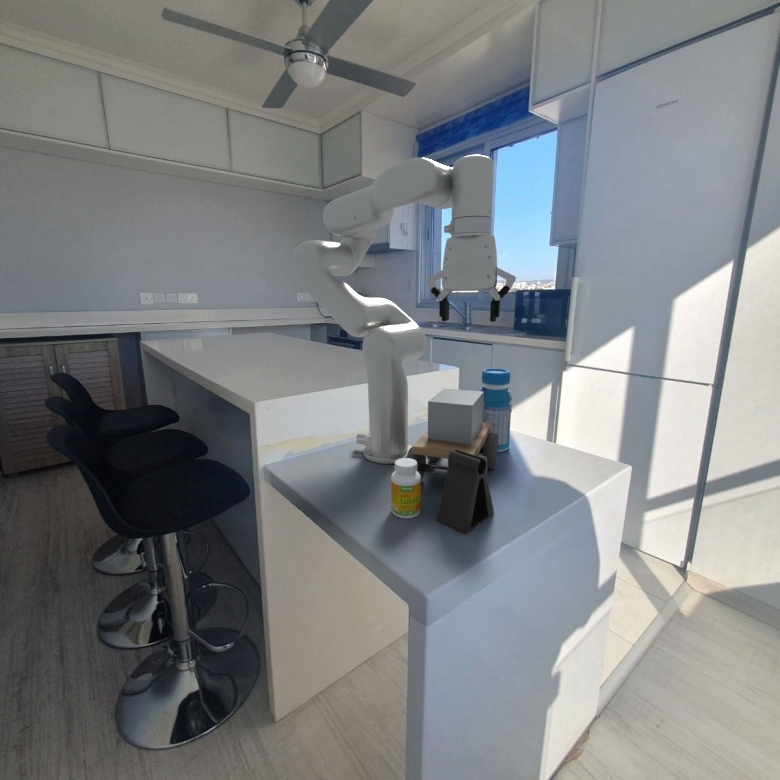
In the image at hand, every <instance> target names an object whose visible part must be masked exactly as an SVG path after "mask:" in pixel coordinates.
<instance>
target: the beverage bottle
mask: <svg viewBox="0 0 780 780" xmlns="http://www.w3.org/2000/svg"><path fill="white" fill-rule="evenodd" d="M510 382H511V371H510V370H508V369H504V368H485V369H483V370H482V372H481V383H482V385H483V386H482V387H481V389H480V391H483V392H484V404H483V422H486V423H492V428H491V431H490V433H495V434H497V435H498V452H497V453H501V452H506V451H507V450H509V448H510V433H511V432H510V431H511V420H512V419H511V415H512V412H513V411H512V410H513V406H512V404H511V402H512V401H513V396H512V392H511V390H510V389H509V387H508V386H509V385H510ZM483 446H484V444H483Z"/></svg>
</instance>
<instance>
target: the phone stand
mask: <svg viewBox="0 0 780 780" xmlns="http://www.w3.org/2000/svg"><path fill="white" fill-rule="evenodd" d="M455 451H456V452H454V451H451V452H450V454H449V456H448V459H447V467H448V471H447V475H445V481H444V484H443V489H442V491H441V492H442V493H441V496H440V497H441V498H440V501H439V506H438V511H437V513H436V518H435V519H436V521H437V522H440V523H442V524H443V525H446V526H447V527H450V528H451V529H454V530H456V531H458V532H461V533H462V534H464V535H466V534H467V533H469V532H470V531H472V530H473V529H475V528H476V527H478V526H479V525H480V524H482V523H483V522H486V520H487V519H490V518H491V517H492V516H493V515H494V514H495V511H494V505H493V501H492V496H491V495H492V494H491V491H490V490H491V489H490V486H489V480H488V476H487V475H488V474H487V475H486V467H487V461H486V459H484V458H481V457H478V456H475V455H472V454H468V453H465V452H462V451H459V450H456V449H455Z"/></svg>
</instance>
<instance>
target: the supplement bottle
mask: <svg viewBox="0 0 780 780" xmlns="http://www.w3.org/2000/svg"><path fill="white" fill-rule="evenodd" d="M390 482H391V483H390V491H391V492H390V494H391V496H390V497H391V498H390V499H391V502H390V503H391V512H392V514H393V515H394V516H395V517H397V518H401V519H413V518H415V517H418V516H419V515H420V513H421V511H422V502H421V501H422V482H421V475H420V474H419V472H417V461H416V460H414V459H411V458H401V459H398V460H396V461H395V463H394V471H393V472H392V474H391V476H390Z"/></svg>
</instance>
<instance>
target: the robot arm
mask: <svg viewBox="0 0 780 780" xmlns="http://www.w3.org/2000/svg"><path fill="white" fill-rule="evenodd" d="M494 173H495V166H494V162H493V160H492V158H491V157H489V156H487V155H482V154H470V155H465V156H462V157H460V158H458V159H457V160H456V161H455V162H454V163H453V166H452V167H450V166H447V165H444V164H441V163H439V162H437V161H434V160H432V159H429V158H426V157H414V158H411V159H408V160H405V161H401V162H399V163H397V164H394V165H392V166H389V167H388V168H385V169H384V170H383V171H381V172H380V173H379V175H378V176H377V177H376V178H375V179H374V180H373V183H372V185H369V186H367V187H363V188H361V189H358V190H356V191H353V192H350V193H347V194H345V195H341V196H340V197H336V198H334V199H332V200H330V201H329V203H327V204H326V206H325V207H324V209H323V212H322V222H323V224H324V226H325V228H326V229H327V230H328V231H329V232H330V233H331V234H332V235H335V236H337V237H341V240H340V241H339V242H338V241H330V240H321V239H311V240H306V241H304V242H302V243H300V244H298V246H297V247H296V248H295V249H294V252H293V256H292V264H293V266H292V267H293V271H294V275H295V279H297V282H298V284H299V285H300V287H301V288H302V289H303V291H304V292H305V294H307V295H308V296H309V297H310V298H311V299H312V300H314V301H315V302H316V303H317V304H318V305H319V306H320V307H321V308H323V309H324V311H325V312H326V313H327V314H328V315H329V316H330V317H331V318H332V319H333V320H334V321H335V322H336V323H337V324H338V325H339V326H340V327H341V328H342V329H343V330H344V331H345V332H346V333H348V334H349V336H351V337H354V338H364V339H363V342H362V356H363V359H364V363H365V368H366V376H367V394H368V395H367V396H368V397H367V401H368V426H369V427H368V429H369V430H368V432H369V434H365V433H357V434H356V437H355V438H356V444H357V445H364V446H365V447H364V449H363V456H364V458H365V459H366V460H368V461H370V462H373V463H377V464H382V465H383V464H386V465H387V464H391V465H392V464H395V461H396V460H398V459H401V458H406V456H407V453H408V451H409V449H410V448H411V447H412V446H413V445H411V444H409V386H408V385H409V383H408V379H407V374H406V372H405V369H404V365H403V364H406V363H410V362H414V361H417V360H418V359H420V358H421V357H422V356H423V355H424V354H425V352H426V349H427V345H428V339H427V337H426V334H425V332H424V330H423V329H422V327H421V326H420V325H418V323H416V321H414V320H413V319H412V317H410V316H408V314H406V313H405V312H404V311H403V310H402V309H401V308H400V307H399V306H398V305H397V304H395V303H394V302H393V301H391V300H389V299H386V298H383V297H378V296H377V297H374V296H373V297H366V296H363V295H361V294H359V293H357V292H356V291H355V290H354V289H353V288H352V287H351V286H350V285H349V284H348V283H346V282H345V281H344V280H342V279H340V278H339V277H347V276H350V275H352V274H353V273H354V272H355V271H356V270H357V269H358V267H359V266H360V264H361V262H362V261H363V259H364V257H365V255H366V253H367V252H368V250H369V248H370V247H371V245H372V243H373V242H374V239H375V237H376V236H377V233H378V230H379V228H382V227H384V226H385V227H386V226H387V225H389V224H390V223H391V221H392V219H393V217H394V212H395V211H394V209H397V208H399V207H402V206H406V205H409V204H415V203H417V204H420V205H421V204H422V205H424V206H429V207H431V208H435V209H439V210H448V209H451V220H450V223H449V224H447V225H444V227H443V232H444V234H449V235H450V236H451V237H447V238H446V240H445V245H444V253H443V262H442V269H441V270H440V271H438V272H436V273H435V274H432V275H431V276H430V277H428V278H427V279H426V283H427V285H428V287H429V289H430V292H431V293H432V294H433V295H434V297H436V299H437V301H439V305H438V306H439V311H438V312H439V314H438V315H439V317H440V318H441V322H447V321H449V320H450V300H448V298H449V297H450V295H451V294H452V293H453V292H470V291H471V292H473V291H474V292H475V291H476V292H477V291H480V292H481V291H487V292H488V294H489V295H490V296H491V297H492V300H491V301H490V311H489V314H490V315H489V321H490V322H491V323H494V322H496V321H497V318H500V314H501V313H500V310H501V300H502V299H503V298H504V297H505V296H506V295H507V294H508V293H509V292H510V290H511V288H513V285H514V284H515V282H516V281H517V277H516V275H513V274H511V273H509V272H507V271H505V270H503V269H502V268H499V267H498V255H497V245H496V244H497V243H496V238H495V235H492V225H493V224H492V223H493V222H492V220H493V201H494V199H493V198H494V197H493V196H494V175H495V174H494ZM498 277H500V278H502V279H504V280H505V284H504V286H503V287H502V288H501V289H500V290H498V289H497V284H498ZM440 280H441V286H442V290H441V289H439V287H438V286H437V282H438V281H440Z"/></svg>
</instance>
